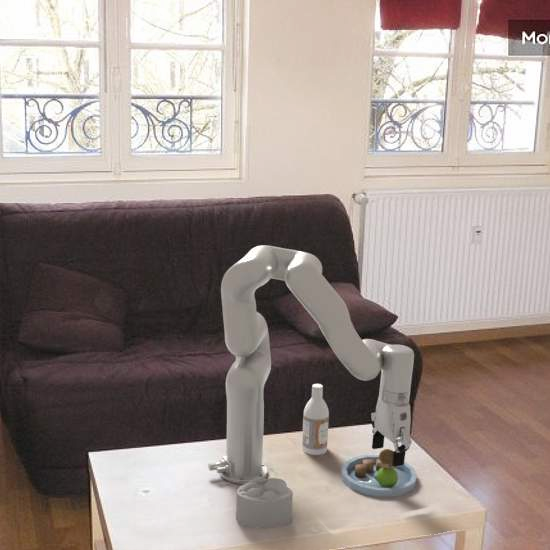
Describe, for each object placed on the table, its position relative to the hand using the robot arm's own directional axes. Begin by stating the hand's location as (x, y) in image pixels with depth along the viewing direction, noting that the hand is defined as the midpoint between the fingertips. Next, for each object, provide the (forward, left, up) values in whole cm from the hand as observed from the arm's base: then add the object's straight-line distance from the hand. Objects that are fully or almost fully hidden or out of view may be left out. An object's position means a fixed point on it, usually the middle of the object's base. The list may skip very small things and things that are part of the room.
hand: (387, 456), depth 224 cm
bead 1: (-3, +7, -8) cm, 12 cm away
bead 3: (+4, +8, -8) cm, 12 cm away
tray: (+1, +4, -9) cm, 10 cm away
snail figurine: (+1, -1, -9) cm, 9 cm away
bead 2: (0, +9, -8) cm, 12 cm away
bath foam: (-7, +25, -10) cm, 28 cm away
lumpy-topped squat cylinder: (-35, 0, -10) cm, 36 cm away
